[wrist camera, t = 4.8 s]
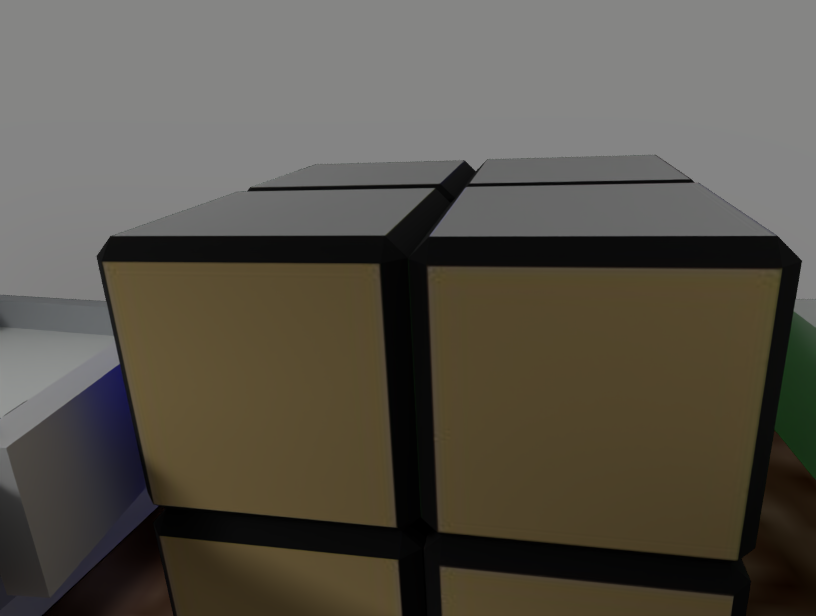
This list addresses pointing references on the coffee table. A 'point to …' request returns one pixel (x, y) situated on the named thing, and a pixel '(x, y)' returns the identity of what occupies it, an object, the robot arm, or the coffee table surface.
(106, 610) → the coffee table surface
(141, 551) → the coffee table surface
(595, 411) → the puzzle cube
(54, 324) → the shallow square tray
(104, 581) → the coffee table surface
